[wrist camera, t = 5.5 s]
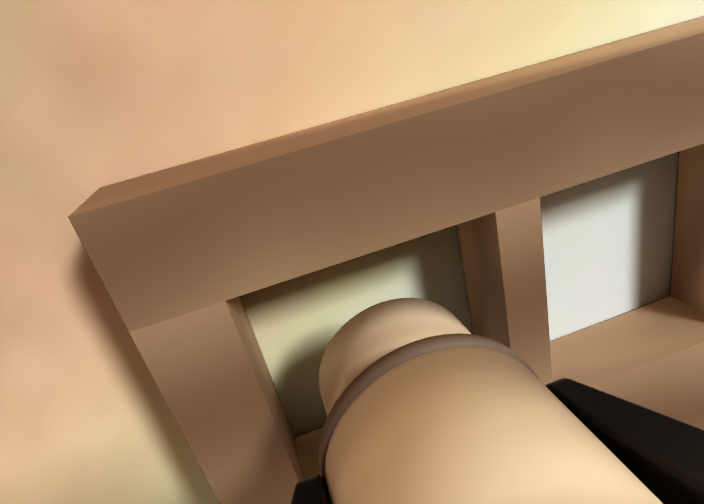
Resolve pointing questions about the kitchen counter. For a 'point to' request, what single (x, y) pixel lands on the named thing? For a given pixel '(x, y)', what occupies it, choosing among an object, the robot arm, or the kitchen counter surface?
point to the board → (403, 225)
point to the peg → (451, 420)
